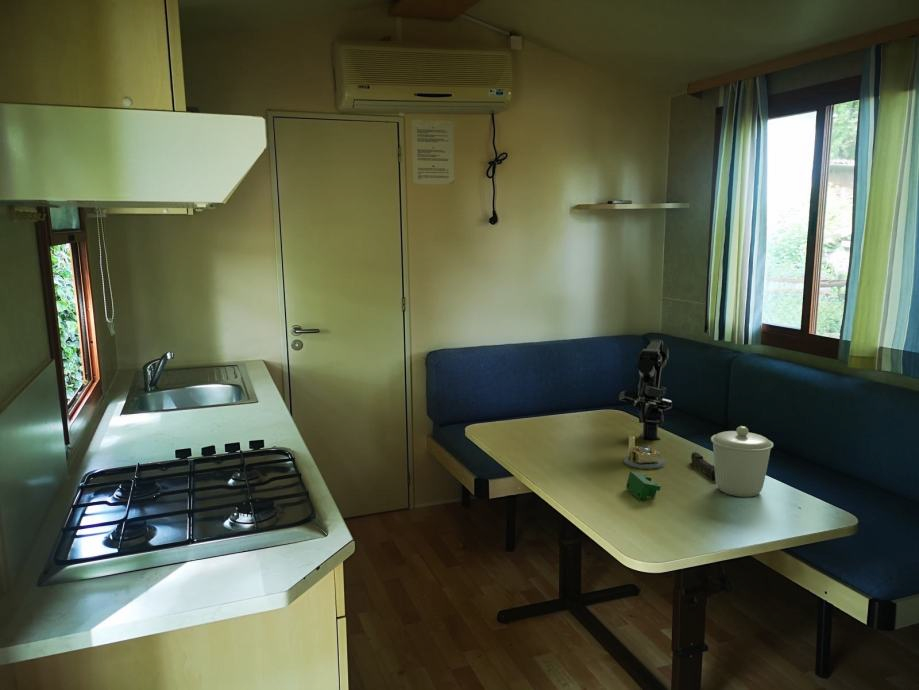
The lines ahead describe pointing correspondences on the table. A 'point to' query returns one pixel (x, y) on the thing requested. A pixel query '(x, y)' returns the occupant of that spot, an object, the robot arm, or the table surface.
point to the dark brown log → (703, 465)
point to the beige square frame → (641, 453)
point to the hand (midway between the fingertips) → (643, 422)
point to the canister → (740, 461)
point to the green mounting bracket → (642, 486)
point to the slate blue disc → (644, 465)
